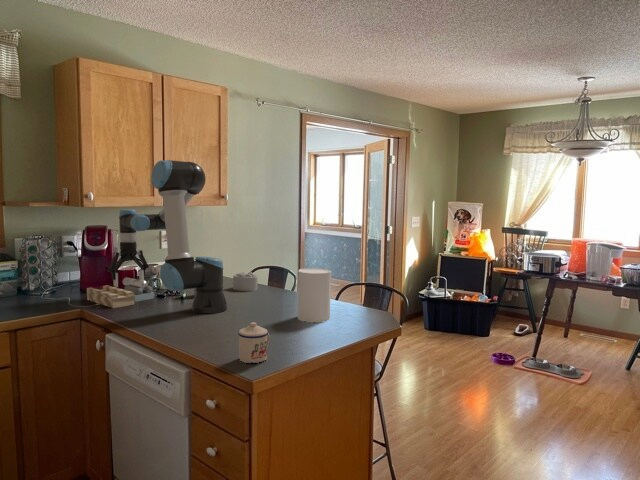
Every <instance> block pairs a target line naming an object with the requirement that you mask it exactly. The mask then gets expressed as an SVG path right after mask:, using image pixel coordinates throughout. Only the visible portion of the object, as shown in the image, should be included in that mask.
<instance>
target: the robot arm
mask: <svg viewBox="0 0 640 480" xmlns="http://www.w3.org/2000/svg"><path fill="white" fill-rule="evenodd" d="M205 173H206V172H205V171H204V169H203V168H202V167H201V166H200V165H199V164H198V163H196V162H194V161H193V162H192V161H180V160H171V159H167V160H163V159H162V160H159V161H156V163H155V164H154V166H153V167H152V170H151V175H150V181H151V184H152V187H153V188H155V189H156V190H157V191H158V195H159V196H161V197H162V203H163V208H162V209H161V210H160V211H159V212H158V213H152V214H151V213H150V214H148V213H147V214H145V213H144V214H137V211H136V210H135V209H131V208H130V209H127V208H126V209H120V210H119V215H118V219H119V241H120V242H119V249H120V251H119V252H117V251H114V252H113V255H112V259H111V262H110V264H109V266H108V268H107V270H106V271H107V272H108V273H111V280H112V282H113V287H116V288H119V273H118V270H119V269H120V268H121V267H122V265H123V264H124V263H125V262H128V261H133V262H134V263H135V264H136V265H137V266H138V267H139V268H140V269H139V270H138V271H139V273H138V277H139V279H138V280H141V281H145V277H146V270H147V269H149V268H150V267H149V266H150V265H149V264H148V262H147V260H146V258H145V256H144V254H143V253H144V252H143V250H141V249H138V250H137V245H138V244H137V232H145V231H155V230H162V231H163V230H165V235H166V246H167V247H166V248H167V256H166V257H165V258H164V263H163V264H162V265H160V270H159V275H160V279H161V282H162V284H163V286H164V287H165V288H166V289H167V290H168V291H169V292H177V291H179V292H181V291H184V290H185V291H186V290H192V289H194V288H196V293H195V292H194V297H193V301H192V303H191V311H192V312H194V313H198V314H215V313H216V314H217V313H222V312H225V311H227V309H228V303H227V300H226V297H225V295H224V263H223V259H221V258H217V257H211V256H195V257H194V255H193V254H191V252H190V245H189V244H190V243H189V233H188V225H187V224H188V222H187V212H186V206H187V205H188V203H190V201H191V200H192V199H193V197H194V196H196V195H198V194H200V193H201V192H202V190H203V189H204V187H205V184H206V178H207V177H206V174H205ZM137 255H138V257H137ZM119 257H120V258H119Z"/></svg>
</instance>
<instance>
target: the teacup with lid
mask: <svg viewBox="0 0 640 480" xmlns="http://www.w3.org/2000/svg"><path fill="white" fill-rule="evenodd" d="M270 341H271V336H270V333H269V331H268V329H267V328H264V327H262V326H260V325H257V322H254V321H253V322H250V323H249V325H248V326H245V327H243V328H241V329H239V331H238V360H239V359H240V360H241V361H244V362H260V361H263V360H266V361H267V359H268V346H269V345H270ZM240 360H239V361H240ZM241 361H240V362H241Z"/></svg>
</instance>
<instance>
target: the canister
mask: <svg viewBox="0 0 640 480" xmlns="http://www.w3.org/2000/svg"><path fill="white" fill-rule="evenodd" d="M297 280H298V281H297V320H298V321H300V320H301V321H300V322H304V321H306V323H313V322H317V323H323V322H322V321H325V322H328V321H329V319H330V320H331V289H332V288H331V285H332V284H331V283H332V271H331V270H330V269H326V268H320V267H319V268H317V267H312V268H311V267H308V268H305V267H304V268H300V269H298V272H297ZM327 320H328V321H327Z"/></svg>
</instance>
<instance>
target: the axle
mask: <svg viewBox="0 0 640 480" xmlns="http://www.w3.org/2000/svg"><path fill="white" fill-rule="evenodd" d="M122 284H123V285H124V286H126V285H130V286H134V287H138V288H141V289H142V290H145V289H147V288H148V286H149V283H148V282H147V281H146V280H144V281H141V280H140V279H136V278H133V277H131V278H130V277H128V276H127V277H124V278H123V279H122Z"/></svg>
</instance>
